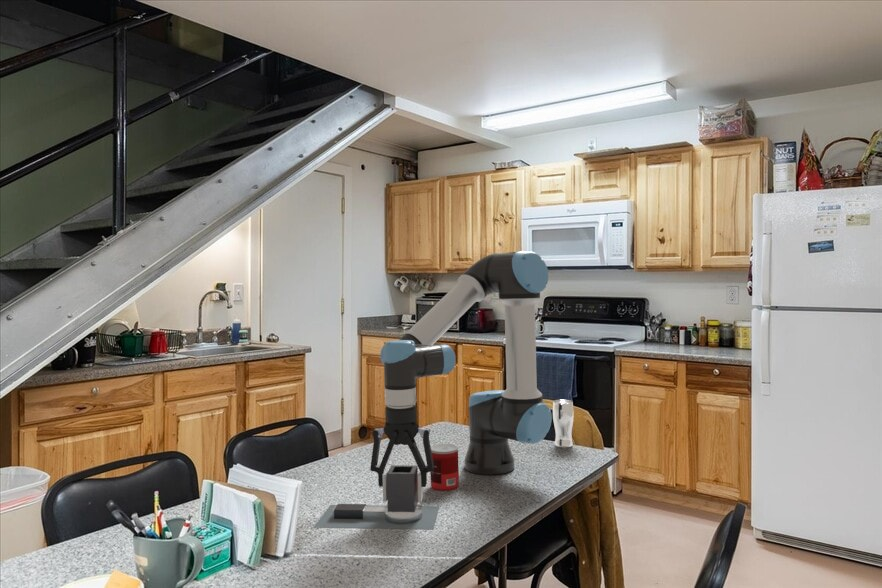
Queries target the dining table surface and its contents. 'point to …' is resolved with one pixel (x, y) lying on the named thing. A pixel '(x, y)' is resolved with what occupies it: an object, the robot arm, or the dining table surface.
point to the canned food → (445, 467)
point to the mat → (378, 521)
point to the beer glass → (563, 422)
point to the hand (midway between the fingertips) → (403, 499)
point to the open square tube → (402, 488)
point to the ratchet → (376, 513)
